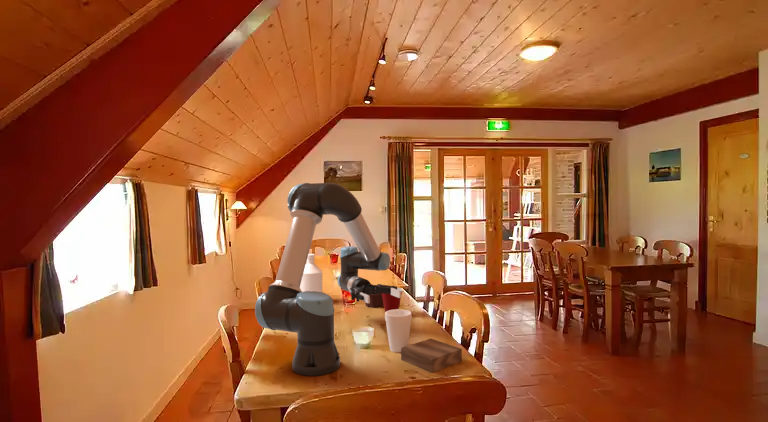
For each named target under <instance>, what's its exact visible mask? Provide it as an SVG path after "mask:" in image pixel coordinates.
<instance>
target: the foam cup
mask: <svg viewBox="0 0 768 422" xmlns="http://www.w3.org/2000/svg"><path fill="white" fill-rule="evenodd" d="M412 316H413V315H412V311H410V310H408V309H403V308H402V309H400V308H399V309H396V310H389V311H386V312H385V311H384V320H385V323H386V332H387V337H388V338H387V340H388V345H389V351H391V353H393V352H394V353H401V348H402V347H405V346H409V343H410V332H411V324H412V318H413V317H412Z"/></svg>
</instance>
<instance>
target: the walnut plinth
mask: <svg viewBox="0 0 768 422" xmlns="http://www.w3.org/2000/svg"><path fill="white" fill-rule="evenodd" d="M462 351H463V349H462V348H460V347H457V346H455V345H452V344H449V343H445V342H443V341H440V340H436V339H434V338H428V339H424V340H422V341H418V342H415V343H412V344H408V346H405V347H402V348H401V352H400V359H401V361H403V362H405V363H408V364H410V365H413V366H416V367H418V368H420V369H422V370H425V371H427V372H430V373H435V372H437V371H441V370H442V369H445V368H447V367H450V366H452V365H455V364H457V363H460V362H462V360H463V359H462V357H463V356H462V355H463V354H462Z"/></svg>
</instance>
